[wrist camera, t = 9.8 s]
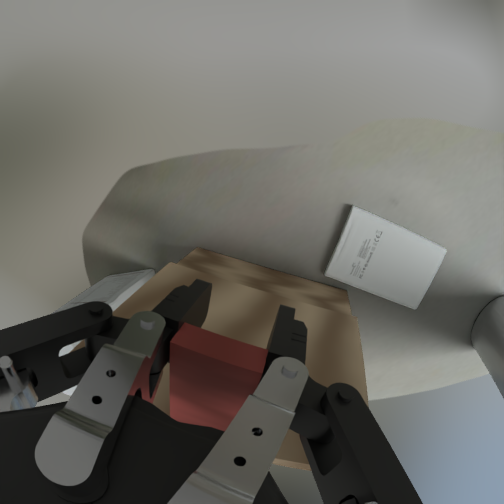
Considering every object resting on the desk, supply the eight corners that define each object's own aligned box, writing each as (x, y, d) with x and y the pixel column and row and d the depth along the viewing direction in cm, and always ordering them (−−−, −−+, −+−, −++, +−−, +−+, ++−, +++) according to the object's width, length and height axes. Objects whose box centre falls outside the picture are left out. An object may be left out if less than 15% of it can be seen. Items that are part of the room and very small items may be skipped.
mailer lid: (353, 324, 24) (382, 258, 21) (364, 475, 10) (444, 405, 7) (169, 269, 26) (176, 200, 23) (62, 370, 12) (34, 273, 10)
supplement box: (128, 328, 40) (61, 394, 24) (106, 274, 37) (24, 330, 22) (177, 327, 37) (111, 411, 22) (155, 267, 35) (66, 336, 19)
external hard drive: (411, 304, 30) (323, 271, 31) (442, 245, 27) (351, 203, 28) (415, 311, 28) (324, 276, 29) (447, 249, 25) (353, 206, 26)
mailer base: (346, 290, 30) (353, 323, 24) (305, 380, 36) (301, 417, 29) (197, 247, 32) (170, 268, 26) (184, 342, 38) (164, 373, 31)
